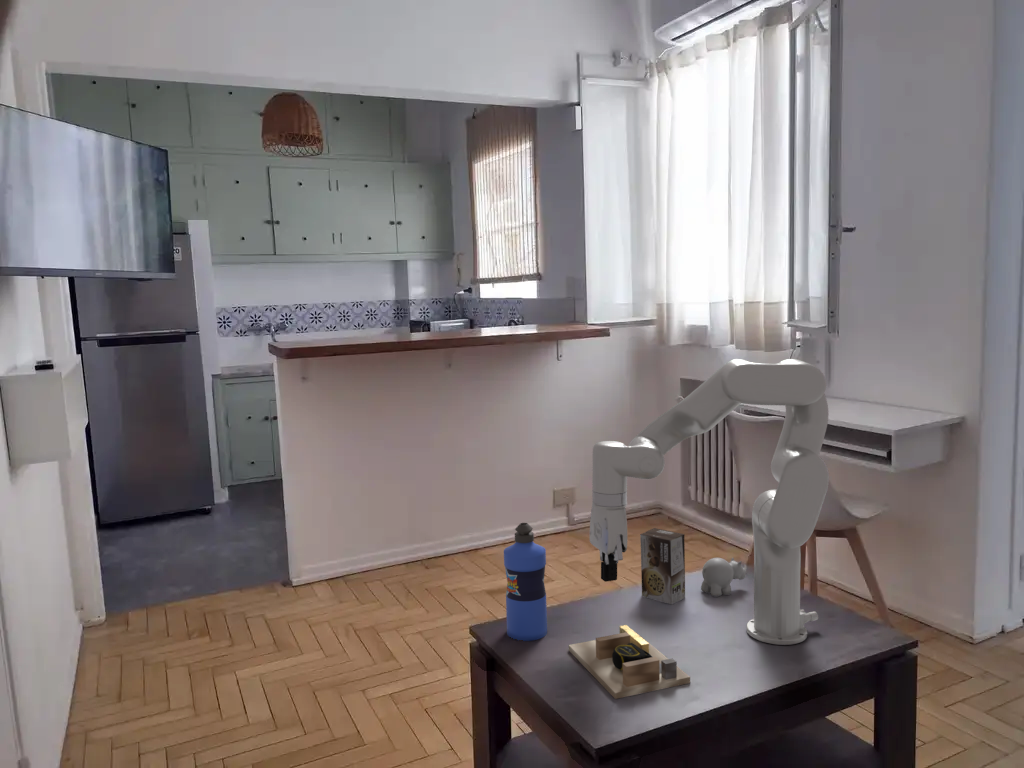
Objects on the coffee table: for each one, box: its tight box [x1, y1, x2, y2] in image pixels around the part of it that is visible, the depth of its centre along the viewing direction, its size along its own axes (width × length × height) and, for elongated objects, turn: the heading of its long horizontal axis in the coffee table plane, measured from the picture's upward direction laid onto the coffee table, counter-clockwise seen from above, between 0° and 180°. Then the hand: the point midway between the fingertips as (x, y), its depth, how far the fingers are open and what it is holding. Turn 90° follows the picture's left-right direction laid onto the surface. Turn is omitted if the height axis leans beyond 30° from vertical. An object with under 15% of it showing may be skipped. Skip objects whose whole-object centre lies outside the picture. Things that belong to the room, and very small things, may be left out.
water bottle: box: [503, 522, 548, 642], centre depth 178 cm, size 9×9×25 cm
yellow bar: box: [619, 624, 649, 653], centre depth 168 cm, size 2×10×2 cm, turn 19°
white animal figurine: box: [700, 557, 747, 597], centre depth 199 cm, size 8×12×9 cm, turn 111°
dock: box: [568, 631, 691, 700], centre depth 162 cm, size 16×22×5 cm
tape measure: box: [612, 643, 652, 671], centre depth 158 cm, size 7×7×4 cm
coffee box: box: [639, 527, 686, 605], centre depth 196 cm, size 9×6×16 cm
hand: (609, 579), depth 176 cm, fingers closed
